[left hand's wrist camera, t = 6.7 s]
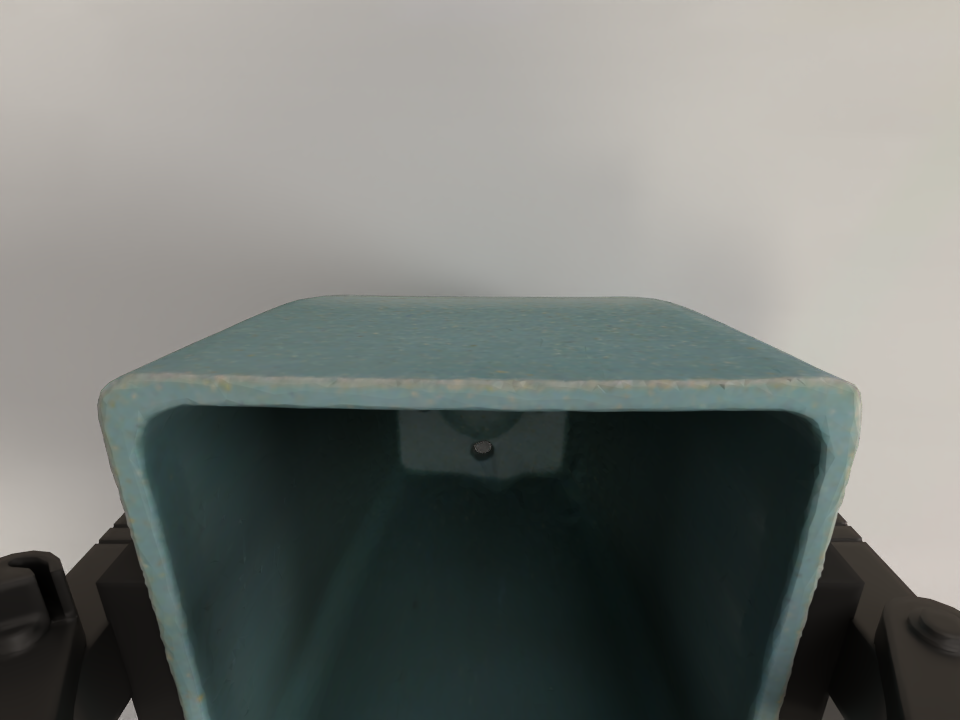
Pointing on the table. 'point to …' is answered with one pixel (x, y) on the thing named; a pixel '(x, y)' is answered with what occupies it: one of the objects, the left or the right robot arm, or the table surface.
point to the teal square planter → (480, 509)
